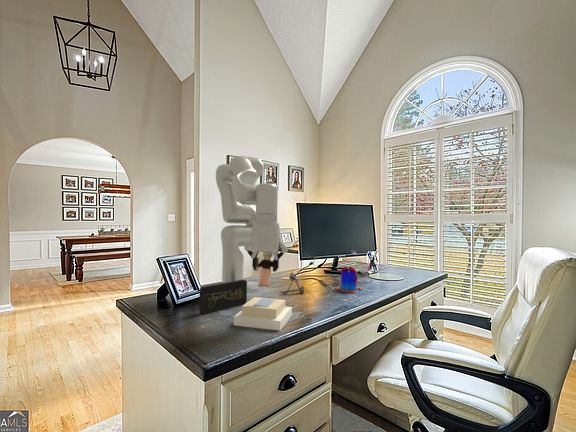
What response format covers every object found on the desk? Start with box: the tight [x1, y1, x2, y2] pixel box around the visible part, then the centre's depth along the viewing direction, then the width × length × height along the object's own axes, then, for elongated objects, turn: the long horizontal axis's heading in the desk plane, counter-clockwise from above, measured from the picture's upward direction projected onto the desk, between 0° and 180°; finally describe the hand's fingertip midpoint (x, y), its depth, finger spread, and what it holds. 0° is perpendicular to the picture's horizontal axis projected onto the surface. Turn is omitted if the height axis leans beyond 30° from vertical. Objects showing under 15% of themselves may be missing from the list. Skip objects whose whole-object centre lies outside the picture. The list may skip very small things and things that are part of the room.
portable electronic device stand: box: [286, 272, 305, 295], centre depth 152 cm, size 9×8×8 cm
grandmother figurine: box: [254, 252, 273, 288], centre depth 110 cm, size 8×4×13 cm, turn 120°
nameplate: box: [198, 279, 248, 315], centre depth 122 cm, size 21×2×10 cm, turn 138°
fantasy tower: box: [333, 265, 364, 294], centre depth 158 cm, size 12×12×12 cm
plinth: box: [233, 296, 293, 331], centre depth 110 cm, size 16×16×6 cm
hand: (265, 270), depth 110 cm, fingers closed on grandmother figurine, 6 cm apart
